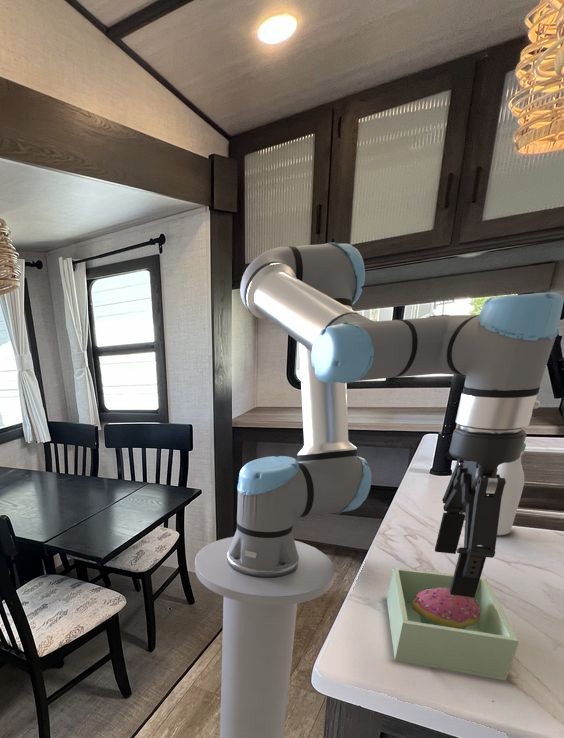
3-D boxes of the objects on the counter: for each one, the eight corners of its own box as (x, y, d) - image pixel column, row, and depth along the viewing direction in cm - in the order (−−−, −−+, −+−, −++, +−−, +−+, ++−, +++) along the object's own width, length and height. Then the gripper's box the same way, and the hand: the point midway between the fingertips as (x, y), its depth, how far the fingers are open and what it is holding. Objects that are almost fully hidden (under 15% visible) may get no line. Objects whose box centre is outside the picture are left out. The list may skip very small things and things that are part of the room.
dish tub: (386, 600, 83) (392, 567, 80) (476, 612, 78) (486, 578, 75) (394, 660, 69) (402, 622, 66) (505, 681, 63) (519, 641, 61)
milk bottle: (519, 534, 103) (546, 444, 95) (485, 537, 102) (510, 448, 94) (491, 521, 110) (514, 436, 102) (459, 524, 109) (480, 440, 101)
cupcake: (457, 617, 76) (474, 551, 71) (485, 650, 68) (507, 578, 63) (399, 616, 77) (412, 551, 73) (420, 647, 70) (437, 577, 65)
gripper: (564, 453, 48) (507, 622, 57) (500, 410, 69) (466, 540, 77) (476, 450, 51) (435, 612, 60) (440, 410, 72) (413, 535, 81)
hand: (452, 571), depth 69 cm, fingers open, 13 cm apart
